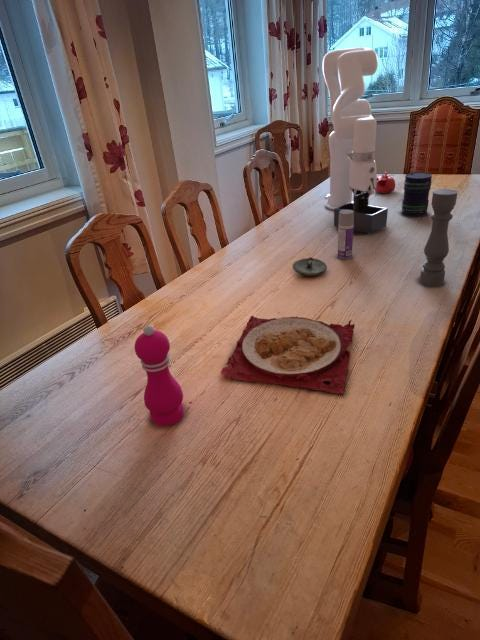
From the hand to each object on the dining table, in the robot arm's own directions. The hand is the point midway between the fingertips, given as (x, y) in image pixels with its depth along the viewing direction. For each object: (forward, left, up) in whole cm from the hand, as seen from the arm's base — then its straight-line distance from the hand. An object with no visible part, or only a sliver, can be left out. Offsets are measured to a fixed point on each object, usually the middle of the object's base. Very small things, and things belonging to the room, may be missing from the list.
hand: (360, 208), depth 160 cm
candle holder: (+45, -23, -8) cm, 51 cm away
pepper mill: (+43, -106, -8) cm, 115 cm away
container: (+15, -25, -8) cm, 30 cm away
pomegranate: (-25, +47, -8) cm, 54 cm away
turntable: (0, 0, -8) cm, 8 cm away
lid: (+15, -41, -8) cm, 44 cm away
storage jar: (+5, +27, -8) cm, 29 cm away
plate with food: (+44, -75, -8) cm, 87 cm away
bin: (0, 0, -8) cm, 8 cm away
